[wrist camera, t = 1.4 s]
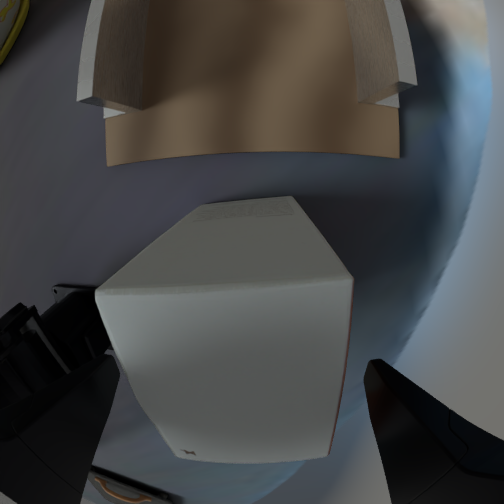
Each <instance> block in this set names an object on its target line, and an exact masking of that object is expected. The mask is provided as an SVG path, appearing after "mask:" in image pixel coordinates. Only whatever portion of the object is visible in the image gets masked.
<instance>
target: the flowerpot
mask: <svg viewBox="0 0 504 504" xmlns="http://www.w3.org/2000/svg"><path fill="white" fill-rule="evenodd" d="M28 9H29V0H0V65H1V63H2V62H3V61H4V59H5V57H6V56H7V54H8V53H9V51H10V49H11V48H12V46H13V44H14V42H15V40H16V39H17V37H18V35H19V33H20V31H21V28H22V26H23V24H24V22H25V19H26V16H27V13H28Z"/></svg>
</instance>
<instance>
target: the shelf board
mask: <svg viewBox="0 0 504 504" xmlns="http://www.w3.org/2000/svg"><path fill="white" fill-rule="evenodd" d="M242 152H321V153H341V154H356V155H368V156H379V157H388V158H399V118H398V108H397V109H396V108H391V107H385V106H379V105H372V104H365V103H358V98H357V84H356V73H355V64H354V55H353V48H352V40H351V34H350V27H349V21H348V16H347V10H346V5H345V0H150V1H149V8H148V16H147V25H146V34H145V46H144V60H143V83H142V111H139V112H134V113H130V114H125V115H121V116H117V117H113V118H109V119H106V156H107V167H108V166H115V165H121V164H127V163H134V162H141V161H148V160H156V159H164V158H173V157H183V156H194V155H207V154H222V153H242Z"/></svg>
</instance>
